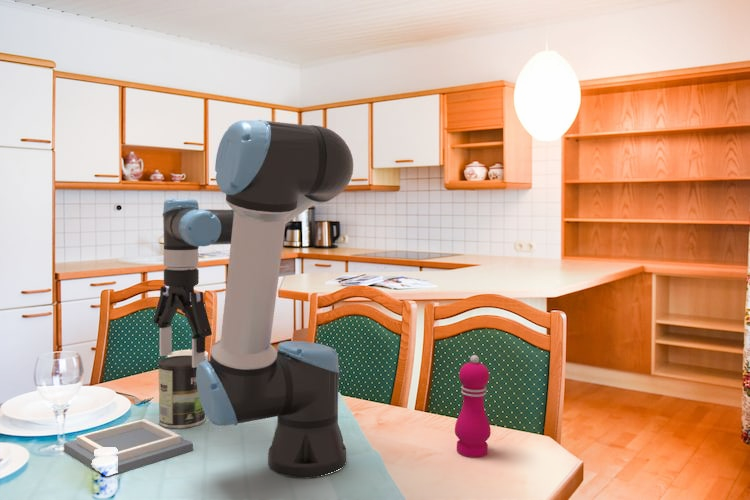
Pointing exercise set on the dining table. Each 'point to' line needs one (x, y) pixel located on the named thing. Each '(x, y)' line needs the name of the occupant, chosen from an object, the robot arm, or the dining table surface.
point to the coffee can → (179, 393)
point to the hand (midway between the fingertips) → (181, 360)
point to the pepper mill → (473, 410)
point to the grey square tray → (130, 444)
